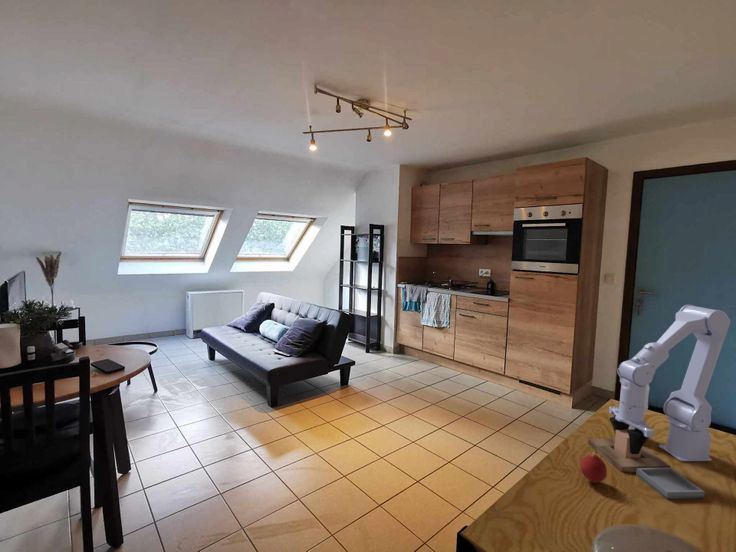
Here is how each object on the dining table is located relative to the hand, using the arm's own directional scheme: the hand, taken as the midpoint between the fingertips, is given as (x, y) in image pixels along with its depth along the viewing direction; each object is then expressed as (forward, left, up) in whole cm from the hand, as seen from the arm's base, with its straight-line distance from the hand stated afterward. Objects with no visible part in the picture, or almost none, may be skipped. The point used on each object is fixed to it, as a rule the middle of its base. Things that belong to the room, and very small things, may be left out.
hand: (627, 448), depth 108 cm
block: (0, 0, -3) cm, 3 cm away
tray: (-1, +13, -3) cm, 13 cm away
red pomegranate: (+18, +11, -3) cm, 21 cm away
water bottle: (-10, -11, -3) cm, 15 cm away
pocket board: (0, 0, -3) cm, 3 cm away
